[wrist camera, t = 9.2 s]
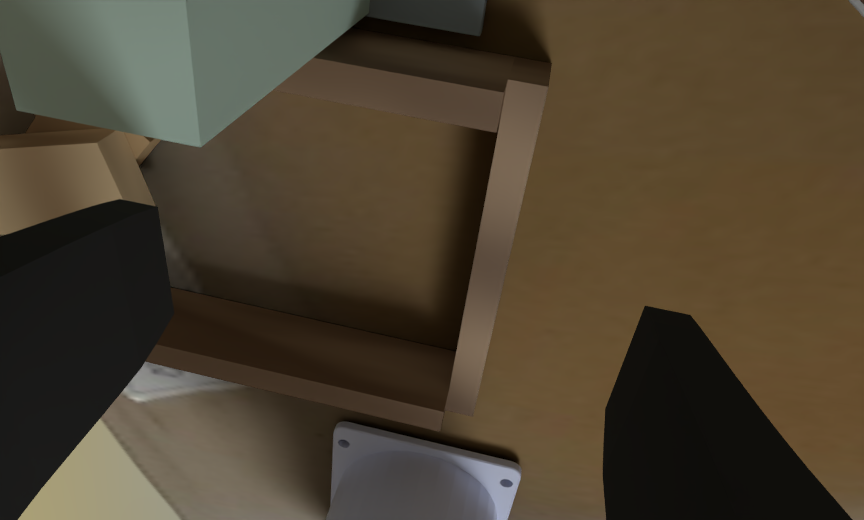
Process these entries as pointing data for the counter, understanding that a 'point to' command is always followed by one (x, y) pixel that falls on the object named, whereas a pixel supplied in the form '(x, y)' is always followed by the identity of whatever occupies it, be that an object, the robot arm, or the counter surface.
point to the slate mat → (433, 13)
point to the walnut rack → (360, 350)
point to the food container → (858, 5)
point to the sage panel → (161, 58)
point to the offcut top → (65, 175)
